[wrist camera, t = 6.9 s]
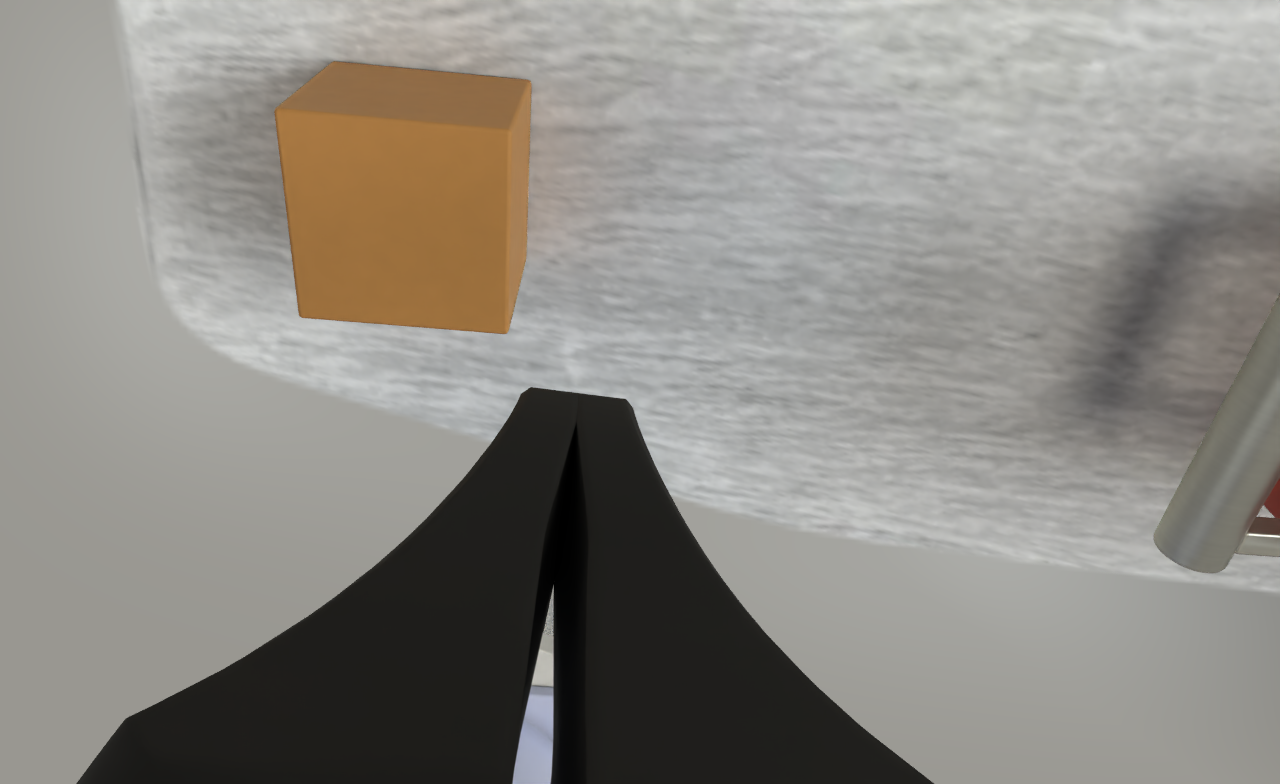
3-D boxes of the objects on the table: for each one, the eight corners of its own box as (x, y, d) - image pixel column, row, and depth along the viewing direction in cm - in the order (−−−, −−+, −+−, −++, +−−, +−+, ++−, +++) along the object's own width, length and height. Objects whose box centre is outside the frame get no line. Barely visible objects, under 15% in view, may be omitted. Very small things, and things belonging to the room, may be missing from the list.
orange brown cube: (526, 260, 20) (508, 335, 18) (347, 245, 20) (298, 319, 17) (532, 79, 18) (512, 129, 15) (331, 60, 18) (272, 107, 15)
